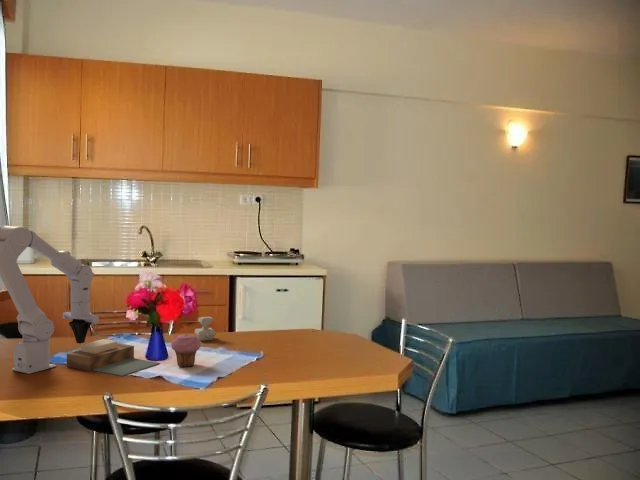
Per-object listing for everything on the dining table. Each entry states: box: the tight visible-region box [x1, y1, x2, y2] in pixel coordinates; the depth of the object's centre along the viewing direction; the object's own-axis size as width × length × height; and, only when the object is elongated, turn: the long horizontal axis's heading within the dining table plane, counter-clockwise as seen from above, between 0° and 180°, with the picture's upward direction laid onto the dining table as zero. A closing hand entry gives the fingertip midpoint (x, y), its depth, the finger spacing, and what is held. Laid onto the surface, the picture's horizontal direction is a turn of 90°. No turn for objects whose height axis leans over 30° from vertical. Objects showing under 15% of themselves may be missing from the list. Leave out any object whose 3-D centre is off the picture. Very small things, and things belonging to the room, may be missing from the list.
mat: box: [92, 357, 161, 377], centre depth 184 cm, size 16×12×1 cm
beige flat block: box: [80, 338, 118, 353], centre depth 189 cm, size 9×6×2 cm, turn 153°
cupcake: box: [171, 333, 201, 368], centre depth 187 cm, size 9×9×10 cm
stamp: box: [194, 316, 217, 342], centre depth 222 cm, size 9×7×8 cm
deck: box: [66, 342, 135, 372], centre depth 189 cm, size 18×10×4 cm, turn 153°
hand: (80, 342), depth 193 cm, fingers closed
